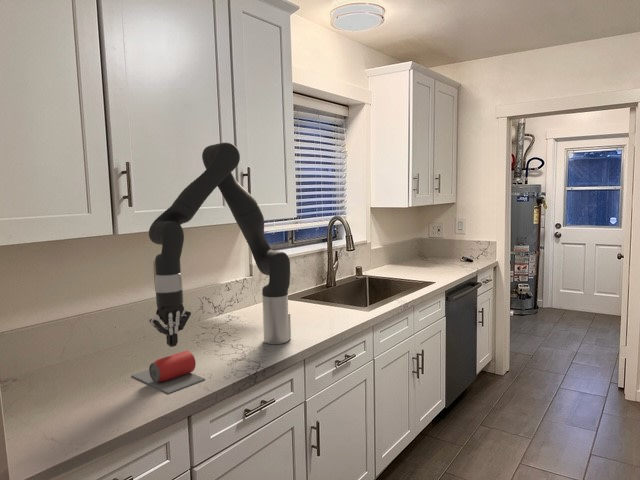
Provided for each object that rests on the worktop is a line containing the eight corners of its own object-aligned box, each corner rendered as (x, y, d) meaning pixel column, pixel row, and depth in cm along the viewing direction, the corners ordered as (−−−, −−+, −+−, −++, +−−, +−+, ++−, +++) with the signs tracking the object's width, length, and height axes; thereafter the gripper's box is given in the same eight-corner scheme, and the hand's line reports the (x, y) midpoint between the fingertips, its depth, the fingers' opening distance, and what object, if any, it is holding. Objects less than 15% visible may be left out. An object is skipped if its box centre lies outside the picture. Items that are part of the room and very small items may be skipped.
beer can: (182, 353, 143) (145, 365, 134) (192, 347, 139) (155, 358, 130) (189, 374, 141) (152, 386, 132) (199, 368, 137) (162, 380, 128)
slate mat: (167, 364, 147) (167, 363, 147) (205, 379, 135) (205, 378, 134) (131, 376, 138) (131, 375, 138) (168, 394, 125) (168, 392, 125)
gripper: (181, 283, 143) (184, 338, 144) (141, 291, 133) (145, 349, 134) (195, 286, 138) (198, 342, 140) (155, 294, 128) (159, 354, 130)
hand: (172, 345), depth 137 cm, fingers closed
